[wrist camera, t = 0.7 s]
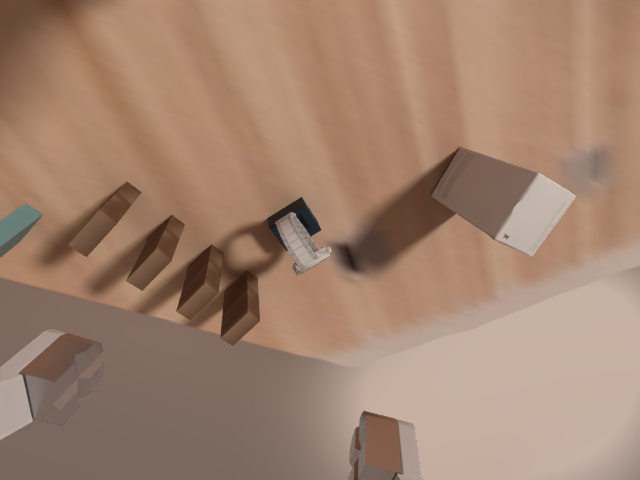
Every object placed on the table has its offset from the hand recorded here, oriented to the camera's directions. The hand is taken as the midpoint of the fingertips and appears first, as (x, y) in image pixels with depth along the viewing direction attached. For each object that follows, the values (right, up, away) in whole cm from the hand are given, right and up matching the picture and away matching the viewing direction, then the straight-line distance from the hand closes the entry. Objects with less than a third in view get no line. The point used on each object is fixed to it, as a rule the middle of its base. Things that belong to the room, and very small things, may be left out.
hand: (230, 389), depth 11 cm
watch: (-1, +7, +40) cm, 40 cm away
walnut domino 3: (-13, +2, +40) cm, 42 cm away
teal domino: (-34, +7, +33) cm, 48 cm away
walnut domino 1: (-22, +9, +34) cm, 42 cm away
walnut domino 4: (-9, -2, +43) cm, 44 cm away
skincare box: (+23, +14, +42) cm, 50 cm away
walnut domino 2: (-18, +6, +37) cm, 41 cm away
